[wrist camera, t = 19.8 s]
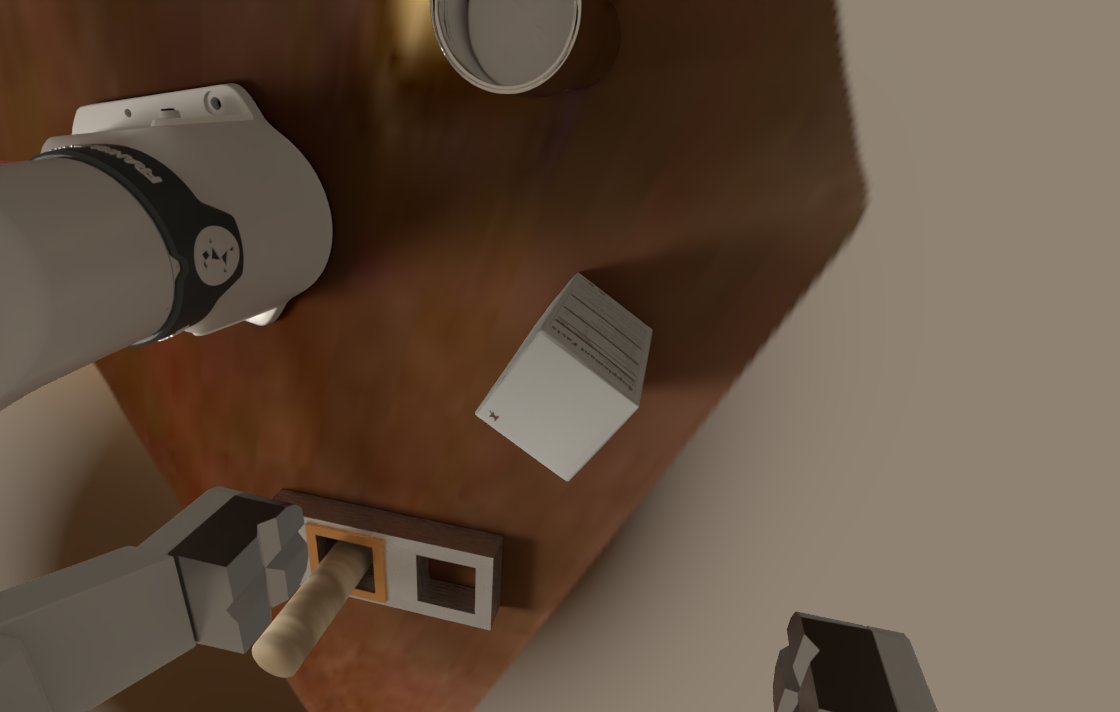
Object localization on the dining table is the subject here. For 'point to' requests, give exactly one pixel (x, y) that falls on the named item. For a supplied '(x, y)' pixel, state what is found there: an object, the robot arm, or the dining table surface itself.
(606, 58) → the beer glass
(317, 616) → the peg
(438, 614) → the board
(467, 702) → the dining table surface
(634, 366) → the supplement box
